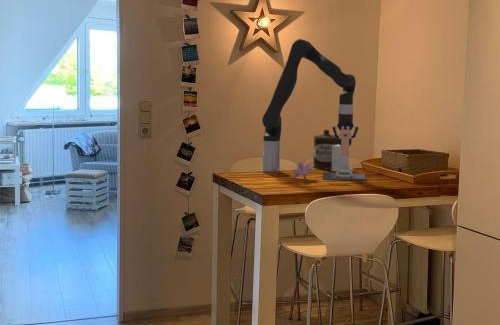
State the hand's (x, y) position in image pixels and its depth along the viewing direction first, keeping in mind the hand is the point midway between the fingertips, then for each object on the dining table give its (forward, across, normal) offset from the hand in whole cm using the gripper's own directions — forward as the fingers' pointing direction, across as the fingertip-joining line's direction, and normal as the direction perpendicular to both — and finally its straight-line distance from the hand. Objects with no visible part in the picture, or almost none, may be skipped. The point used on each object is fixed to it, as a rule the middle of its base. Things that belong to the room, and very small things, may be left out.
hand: (344, 145), depth 323 cm
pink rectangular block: (+5, 0, 0) cm, 5 cm away
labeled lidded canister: (+17, +10, -34) cm, 39 cm away
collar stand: (+17, 0, 0) cm, 17 cm away
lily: (+17, +21, +9) cm, 29 cm away
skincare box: (+17, +2, -21) cm, 27 cm away
